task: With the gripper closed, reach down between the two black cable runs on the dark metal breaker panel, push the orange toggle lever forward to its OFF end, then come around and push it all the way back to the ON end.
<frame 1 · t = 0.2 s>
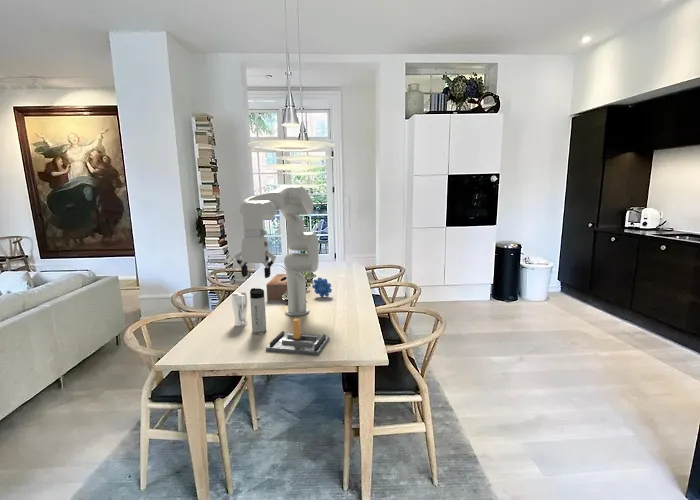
hand: (256, 276, 144), 30 cm above the table, fingers open, 9 cm apart
travel mug: (259, 331, 167), on the table
breaker panel: (298, 344, 153), on the table
cable runs: (298, 339, 152), point 2 cm above the table
tissue box cover: (284, 294, 226), on the table
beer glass: (241, 324, 177), on the table
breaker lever: (297, 330, 152), point 6 cm above the table, slide at 3.5 cm
blue lobed wheel: (322, 297, 218), on the table
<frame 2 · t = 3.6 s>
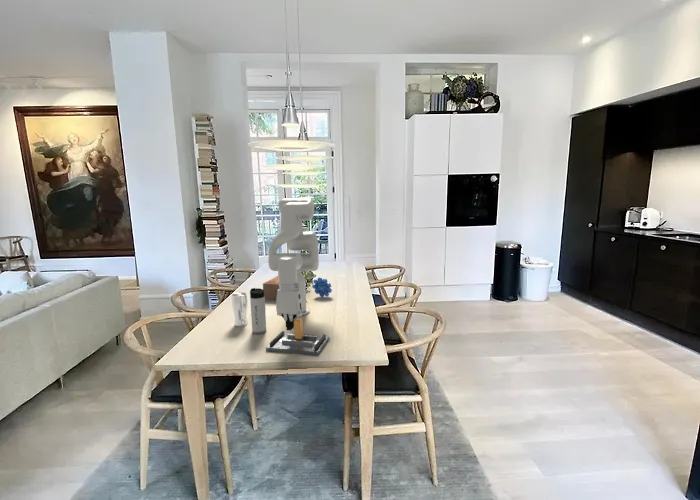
hand: (290, 329, 152), 7 cm above the table, fingers closed
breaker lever: (298, 330, 151), point 6 cm above the table, slide at 4.4 cm, touching gripper
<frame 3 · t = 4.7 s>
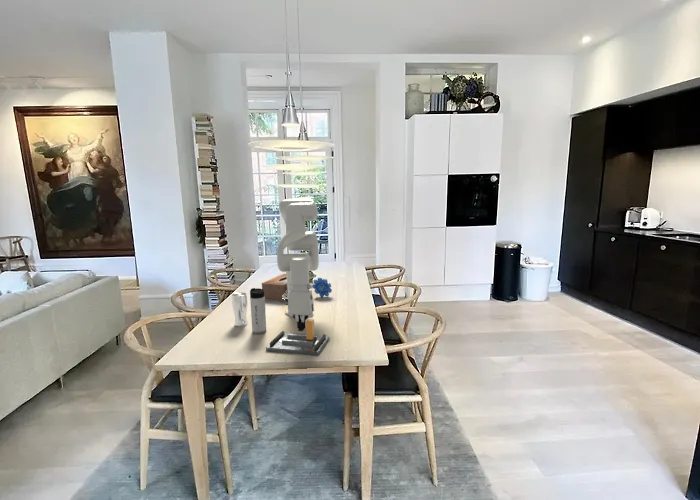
hand: (301, 330, 151), 7 cm above the table, fingers closed
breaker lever: (310, 331, 150), point 6 cm above the table, slide at 9.4 cm, touching gripper
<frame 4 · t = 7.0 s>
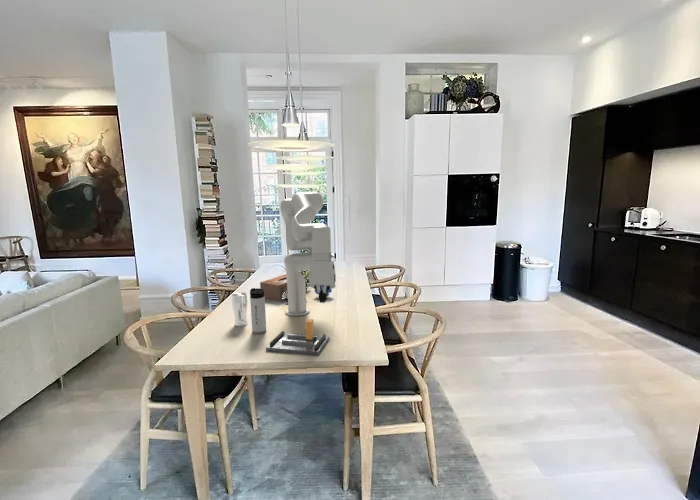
hand: (322, 301, 147), 20 cm above the table, fingers closed
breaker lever: (309, 331, 150), point 6 cm above the table, slide at 9.0 cm
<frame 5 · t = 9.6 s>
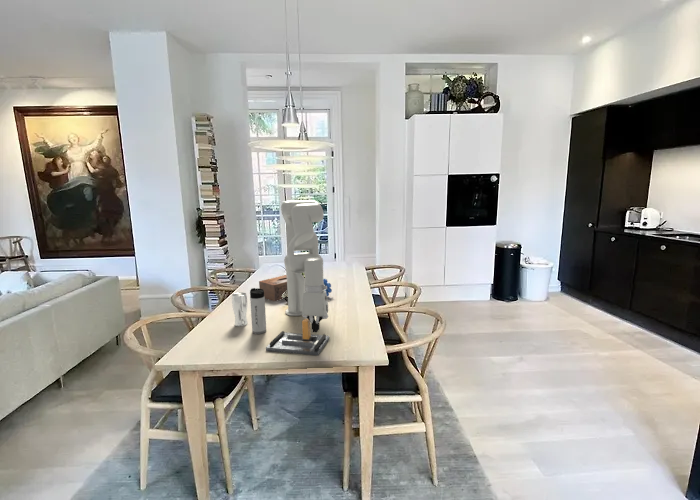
hand: (315, 331, 150), 7 cm above the table, fingers closed
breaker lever: (306, 330, 151), point 6 cm above the table, slide at 7.7 cm, touching gripper
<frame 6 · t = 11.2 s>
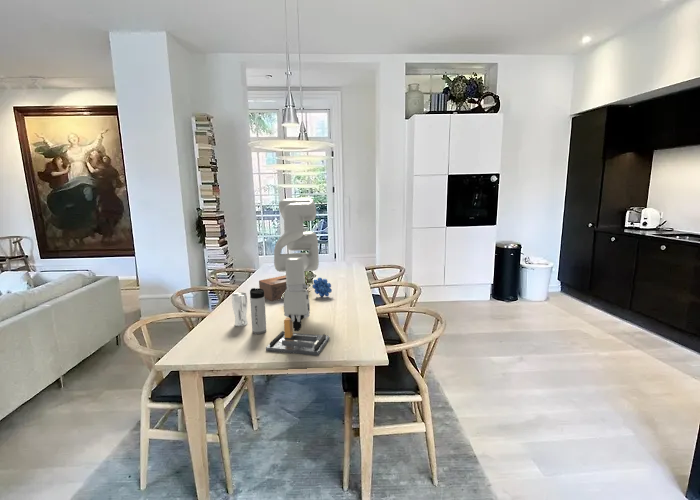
hand: (297, 329, 152), 7 cm above the table, fingers closed
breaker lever: (288, 329, 152), point 6 cm above the table, slide at -0.3 cm, touching gripper
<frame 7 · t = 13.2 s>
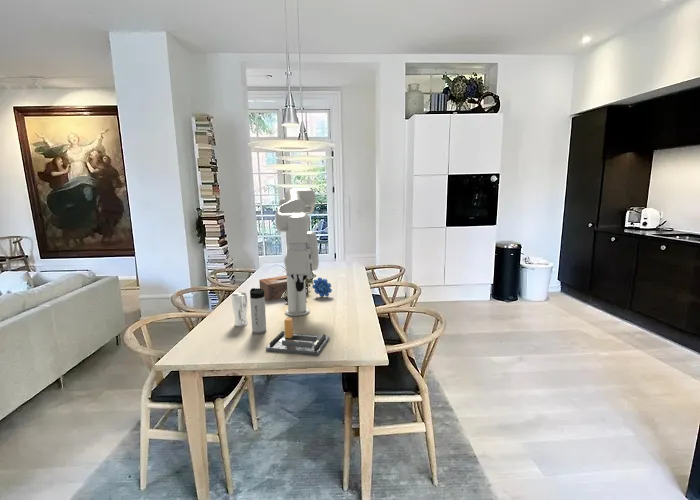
hand: (299, 290, 149), 23 cm above the table, fingers closed
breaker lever: (289, 329, 152), point 6 cm above the table, slide at 0.0 cm
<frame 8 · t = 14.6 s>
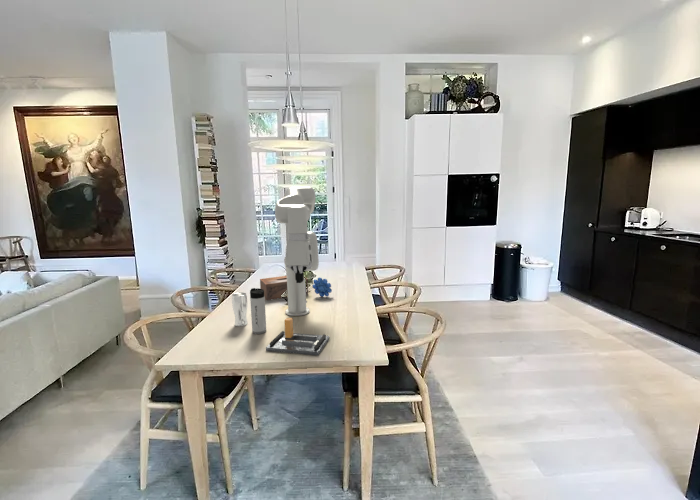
hand: (299, 282, 148), 27 cm above the table, fingers closed
at the end: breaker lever slide at 0.0 cm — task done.
